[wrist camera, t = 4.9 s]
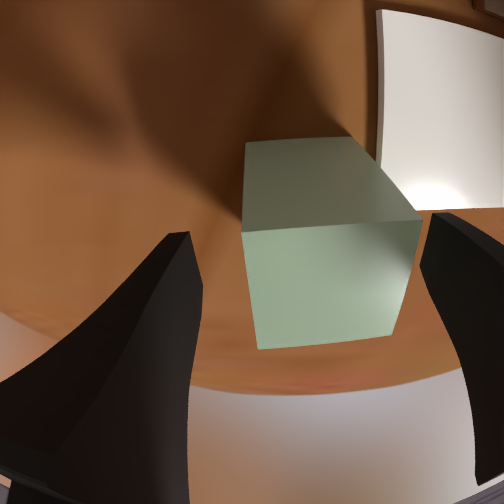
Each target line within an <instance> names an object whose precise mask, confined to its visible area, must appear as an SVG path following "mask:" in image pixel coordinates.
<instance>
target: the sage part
mask: <svg viewBox="0 0 504 504" xmlns="http://www.w3.org/2000/svg"><path fill="white" fill-rule="evenodd" d="M422 222H423V219H422V218H421V216H420V215H419V214H418V212H417V211H416V210H415V208H414V207H413V206H412V205H411V203H410V202H409V201H408V200H407V198H406V197H405V196H404V195H403V193H402V192H401V191H400V190H399V189H398V187H397V186H396V185H395V184H394V183H393V181H392V180H391V179H390V178H389V177H388V176H387V174H386V173H385V172H384V171H383V170H382V169H381V168H380V166H379V165H378V164H377V163H376V162H375V161H374V160H373V159H372V157H371V156H370V155H369V154H368V153H367V152H366V151H365V150H364V149H363V148H362V147H361V145H360V144H359V143H358V142H357V141H356V140H355V139H354V138H353V137H319V138H298V139H282V140H269V141H257V142H246V145H245V164H244V185H243V206H242V228H241V234H242V241H243V248H244V255H245V262H246V269H247V276H248V283H249V290H250V297H251V304H252V311H253V318H254V325H255V332H256V339H257V346H258V349H271V348H284V347H296V346H307V345H317V344H326V343H335V342H343V341H352V340H359V339H367V338H374V337H380V336H387V335H392V332H393V329H394V326H395V323H396V320H397V317H398V314H399V311H400V307H401V304H402V301H403V297H404V294H405V291H406V287H407V284H408V280H409V276H410V273H411V269H412V265H413V261H414V257H415V253H416V249H417V245H418V240H419V236H420V232H421V227H422Z"/></svg>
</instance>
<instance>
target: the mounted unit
mask: <svg viewBox="0 0 504 504" xmlns="http://www.w3.org/2000/svg"><path fill="white" fill-rule="evenodd" d="M473 9H475V10H478V11H480V12H483V13H486V14H489V15H491V16H494V17H497V18H499V19H502V20H504V0H473Z"/></svg>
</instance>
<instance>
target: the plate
mask: <svg viewBox="0 0 504 504" xmlns="http://www.w3.org/2000/svg"><path fill="white" fill-rule="evenodd" d="M376 22H377V41H378V127H377V148H376V163H377V164H378V165H379V166H380V168H381V169H382V170H383V171H384V172H385V173H386V174H387V176H388V177H389V178H390V179H391V180H392V181H393V183H394V184H395V185H396V186H397V187H398V189H399V190H400V191H401V192H402V193H403V195H404V196H405V197H406V198H407V200H408V201H409V202H410V203H411V205H412V206H413V207H414V208H415V210H430V209H457V208H491V207H504V39H502V38H500V37H497V36H494V35H491V34H488V33H485V32H482V31H479V30H476V29H472V28H469V27H466V26H462V25H458V24H455V23H451V22H447V21H443V20H439V19H434V18H430V17H425V16H420V15H415V14H409V13H403V12H397V11H391V10H383V9H381V10H376Z"/></svg>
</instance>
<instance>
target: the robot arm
mask: <svg viewBox="0 0 504 504" xmlns="http://www.w3.org/2000/svg"><path fill="white" fill-rule="evenodd" d="M420 269H421V272H422V275H423V278H424V281H425V283H426V286H427V289H428V292H429V294H430V296H431V298H432V300H433V302H434V304H435V306H436V309H437V311H438V313H439V315H440V317H441V319H442V321H443V323H444V325H445V327H446V329H447V332H448V334H449V336H450V338H451V340H452V343H453V345H454V347H455V350H456V352H457V355H458V357H459V360H460V363H461V367H462V371H463V374H464V378H465V382H466V386H467V390H468V395H469V400H470V405H471V411H472V418H473V426H474V436H475V477H476V481H477V484H478V486H480V485H482V484H484V483H486V482H488V481H490V480H492V479H494V478H496V477H498V476H500V475H502V474H504V245H503V244H501V243H500V242H498V241H497V240H495V239H494V238H492V237H491V236H489V235H487V234H486V233H484V232H483V231H481V230H480V229H478V228H476V227H475V226H473V225H471V224H470V223H468V222H466V221H465V220H463V219H461V218H459V217H457V216H455V215H453V214H451V213H448V212H446V213H432V217H431V221H430V226H429V230H428V235H427V239H426V243H425V247H424V251H423V255H422V258H421V262H420ZM202 296H203V284H202V280H201V276H200V272H199V268H198V264H197V260H196V256H195V252H194V248H193V244H192V240H191V236H190V232H189V231H187V232H177V233H169V234H168V235H167V236H166V237H165V238H164V239H163V240H162V241H161V242H160V243H159V244H158V245H157V246H156V247H155V248H154V249H153V251H152V252H151V253H150V254H149V255H148V256H147V257H146V258H145V259H144V261H143V262H142V263H141V264H140V265H139V266H138V267H137V268H136V269H135V270H134V272H133V273H132V274H131V275H130V276H129V277H128V278H127V279H126V280H125V281H124V282H123V283H122V284H121V285H120V286H119V287H118V288H117V289H116V290H115V291H114V293H113V294H112V295H111V296H110V297H109V298H108V299H107V300H106V301H105V302H104V303H103V304H102V305H101V306H100V307H99V308H98V309H97V310H96V311H94V312H93V313H92V314H91V315H90V316H89V317H88V318H87V319H86V320H85V321H83V322H82V323H81V324H80V325H79V326H78V327H77V328H76V329H74V330H73V331H72V332H71V333H70V334H68V335H67V336H66V337H64V338H63V339H62V340H61V341H59V342H58V343H57V344H56V345H54V346H53V347H52V348H51V349H49V350H48V351H47V352H46V353H44V354H43V355H41V356H40V357H39V358H37V359H36V360H34V361H33V362H32V363H30V364H29V365H27V366H26V367H25V368H23V369H21V370H20V371H18V372H17V373H15V374H14V375H12V376H10V377H9V378H8V379H6V380H4V381H2V382H0V474H1V475H3V476H5V477H7V478H8V479H11V480H12V481H11V486H10V488H8V487H6V486H4V485H2V484H0V504H190V501H189V488H188V464H187V420H188V396H189V386H190V379H191V373H192V367H193V361H194V355H195V350H196V344H197V338H198V332H199V327H200V321H201V314H202ZM454 504H504V480H503V481H501V482H499V483H497V484H496V485H493V486H491V487H489V488H487V489H485V490H483V491H481V492H479V493H477V494H475V495H473V496H471V497H468V498H466V499H463V500H461V501H459V502H456V503H454Z"/></svg>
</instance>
